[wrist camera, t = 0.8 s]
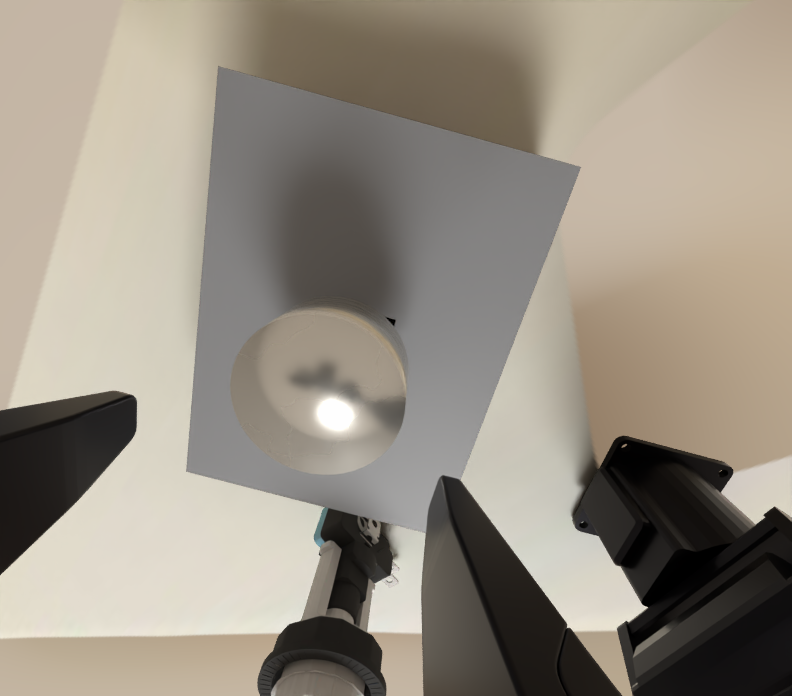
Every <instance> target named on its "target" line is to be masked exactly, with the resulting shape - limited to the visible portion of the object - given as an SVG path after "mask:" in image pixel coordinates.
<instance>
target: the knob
mask: <svg viewBox="0 0 792 696" xmlns="http://www.w3.org/2000/svg"><path fill="white" fill-rule="evenodd" d="M408 372H409V366H408V357H407V352H406V349H405V346H404V343H403V341H402V339H401V337H400V335H399V333H398V332H397V331H396V329H395V328H394V326H393V325H392V324H391V323H390V322H389V321H388V320H387V318H385V317H384V316H383V315H382V314H381V313H380V312H378V311H377V310H375V309H374V308H372V307H371V306H369V305H367V304H365V303H362V302H360V301H357V300H354V299H351V298H346V297H340V296H323V297H317V298H312V299H309V300H306V301H303V302H301V303H300V304H298V305H296V306H294V307H292V308H291V309H289V310H288V311H286V312H285V313H283V314H282V315H280V316H279V317H277V318H276V319H274V320H273V321H271V322H270V323H268V324H267V325H265V326H264V327H262V328H261V329H260V330H258V331H257V332H255V333H254V334H253V335H252V336H251V337H250V338H249V339H248V340H247V341H246V343H245V344H244V345H243V347H242V348H241V350H240V351H239V353H238V355H237V357H236V359H235V362H234V365H233V368H232V373H231V379H230V392H231V400H232V404H233V409H234V411H235V414H236V417H237V419H238V421H239V423H240V425H241V427H242V428H243V430H244V431H245V433H246V434H247V436H248V437H249V438H250V439H251V440H252V441H253V443H254V444H255V445H256V446H257V447H258V448H259V449H261V450H262V451H263V452H264V453H265V454H267V455H268V456H269V457H271V458H272V459H274V460H276V461H277V462H279V463H281V464H283V465H285V466H287V467H290V468H292V469H295V470H298V471H302V472H306V473H311V474H320V475H335V474H342V473H347V472H351V471H355V470H357V469H360V468H362V467H365V466H366V465H368V464H370V463H372V462H373V461H375V460H376V459H377V458H379V457H380V456H381V455H382V454H383V453H384V452H385V451H387V450H388V448H389V447H390V446H391V445H392V443H393V442H394V440H395V439H396V437H397V435H398V433H399V431H400V428H401V426H402V423H403V419H404V414H405V405H406V395H407V384H408Z"/></svg>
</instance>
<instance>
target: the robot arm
mask: <svg viewBox="0 0 792 696" xmlns="http://www.w3.org/2000/svg"><path fill="white" fill-rule="evenodd" d="M136 428H137V400H136V398H135V397H134V396H133V395H130V394H127V393H123V392H119V391H108V392H103V393H97V394H91V395H86V396H80V397H74V398H69V399H63V400H57V401H52V402H46V403H40V404H35V405H29V406H23V407H18V408H12V409H6V410H1V411H0V575H1V574H2V573H3V572H4V571H5V570H6V569H7V568H8V567H9V566H10V565H11V564H12V563H13V562H15V561H16V560H17V559H18V558H19V557H20V556H21V555H22V554H23V553H24V552H25V551H26V550H27V549H28V548H29V547H30V546H31V545H32V544H33V543H34V542H35V541H37V540H38V539H39V538H40V537H41V536H42V535H43V534H44V533H45V532H46V531H47V530H48V529H49V528H50V527H51V526H52V525H53V524H54V523H55V522H56V521H57V520H59V519H60V518H61V517H62V516H63V515H64V514H65V513H66V512H67V511H68V510H69V509H70V508H71V507H72V506H73V505H74V504H75V503H76V502H77V501H78V500H79V499H80V498H81V497H82V496H83V494H84V493H85V492H86V491H87V490H88V489H89V488H90V487H91V486H92V485H93V483H94V482H95V481H96V480H97V479H98V478H99V477H100V475H101V474H102V473H103V472H104V471H105V470H106V469H107V467H108V466H109V465H110V464H111V463H112V462H113V461H114V459H115V458H116V457H117V456H118V455H119V454H120V453H121V451H122V450H123V449H124V448H125V447H126V446H127V445H128V443H129V442H130V441H131V440H132V438H133V437H134V435H135V432H136ZM624 444H627V446H625V447H623V448H621V447H622V446H623V445H624ZM721 470H722V471H721ZM720 471H721V472H720ZM732 475H733V469H732V468H731V467H730V466H729V465H727V464H726V463H725V462H722V461H718V460H715V459H711V458H707V457H704V456H700V455H696V454H692V453H688V452H685V451H681V450H677V449H673V448H670V447H666V446H662V445H658V444H655V443H651V442H647V441H643V440H639V439H635V438H632V437H628V436H621V437H618V438H616V439H615V440H614V442H613V444H612V446H611V448H610V449H609V451H608V453H607V455H606V457H605V459H604V461H603V463H602V465H601V466H600V468H599V469H598V470H597V472H596V474H595V476H594V478H593V480H592V482H591V484H590V485H589V487H588V489H587V491H586V493H585V495H584V497H583V499H582V500H581V504H580V506H579V508H578V509H577V511H576V513H575V515H574V517H573V520H572V521H573V524H574V526H575V528H576V529H577V530H579V531H581V532H585V533H589V534H593V535H597V536H599V537H600V539H601V541H602V543H603V545H604V546H605V548H606V550H607V552H608V553H609V555H610V557H611V559H612V561H613V562H614V564H615V565H617V566H621V568H622V570H623V572H624V573H625V575H626V577H627V579H628V580H629V582H630V584H631V586H632V587H633V589H634V591H635V593H636V594H637V596H638V598H639V599H640V601H641V603H642V605H644V606H647V607H648V608H647V609H645V610H644V611H643V612H642V613H640V614H639V615H638V616H636V617H635V618H634V619H632V620H631V621H630V622H627V621H626V622H624V623H623V624H622V625H620V626H619V627H618V628H617V631H618V635H619V640H620V644H621V647H622V652H623V656H624V660H625V664H626V669H627V672H628V677H629V681H630V685H631V689H632V695H633V696H792V517H790V516H789V515H787V514H786V513H784V512H783V511H781V510H780V509H778V508H777V507H773V508H772V509H771V510H769V511H768V512H767V513H765V514H764V516H765V518H764V519H763V520H761V521H760V522H759V523H757V524H756V525H755V524H754V523H753V522H752V521H751V520H750V519H749V518H748V517H747V516H745V515H744V514H743V513H742V512H741V511H740V510H739V509H738V508H737V507H736V506H735V505H733V504H732V503H731V502H730V501H729V500H728V499H727V498H726V497H725V496H724V495H722V494H721V491H722V490H723V488H724V487H725V485H726V484H727V482H728V481H729V480H730V478H731V477H732ZM583 521H584V522H583ZM581 522H583V523H581ZM421 603H422V645H423V690H424V696H622V695H621V693H620V692H619V691H618V690H617V689H616V687H615V686H614V685H613V683H612V682H611V681H610V679H609V678H608V677H607V676H606V674H605V673H604V672H603V670H602V669H601V668H600V667H599V665H598V664H597V663H596V661H595V660H594V659H593V658H592V656H591V655H590V654H589V652H588V651H587V650H586V648H585V647H584V646H583V644H582V643H581V642H580V640H579V639H578V638H577V636H576V635H575V633H574V632H573V631H572V629H571V628H567V623H566V622H565V620H564V619H563V618H562V616H561V615H560V614H559V612H558V611H557V610H556V608H555V607H554V605H553V604H552V603H551V601H550V600H549V599H548V597H547V596H546V595H545V593H544V592H543V591H542V589H541V588H540V587H539V585H538V584H537V583H536V581H535V580H534V579H533V577H532V576H531V575H530V573H529V572H528V571H527V569H526V568H525V566H524V565H523V564H522V562H521V561H520V560H519V558H518V557H517V556H516V554H515V553H514V552H513V550H512V549H511V548H510V546H509V545H508V544H507V542H506V541H505V540H504V538H503V537H502V536H501V534H500V533H499V532H498V530H497V529H496V527H495V526H494V525H493V523H492V522H491V521H490V519H489V518H488V517H487V515H486V514H485V513H484V511H483V510H482V509H481V507H480V506H479V505H478V503H477V502H476V501H475V499H474V498H473V497H472V495H471V494H470V493H469V491H468V490H467V488H466V487H465V486H464V484H463V483H462V482H461V481H460V480H459V479H457V478H453V477H449V476H445V475H442V476H440V478H439V479H438V482H437V485H436V488H435V491H434V493H433V496H432V499H431V502H430V505H429V509H428V515H427V526H426V538H425V549H424V561H423V572H422V588H421ZM566 628H567V629H566Z"/></svg>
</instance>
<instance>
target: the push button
mask: <svg viewBox="0 0 792 696" xmlns="http://www.w3.org/2000/svg"><path fill="white" fill-rule="evenodd" d="M372 520H373V519H369V518H368V519H367V518H365V517H361V516H357V515H354V514H350V513H346V512H342V511H338V510H334V509H330V508H326V507H325V508H324V509H323V510H322V513H321V517H320V520H319V523H318V526H317V529H316V532H315V534H314V540H315V542H316V544H317V545H318V546H319V547H320V551H319V555H320V556H321V557H320V561H319V564H318V567H317V570H316V574H315V577H314V580H313V584H312V587H311V590H310V593H309V597H308V600H307V603H306V607H305V610H304V613H303V616H302V619H301V621H299V622H295V623H292V624H289V625H288V626H287V627H286V628H285V629H284V630H283V631H282V633H281V634H280V635H279V636H278V638H277V641H276V644H275V647H274V650H273V652H271V653H270V654H269V655H268V657H267V658H266V659H265V661H264V663H263V665H262V668H261V671H260V673H259V676H258V690H259V694H260V696H386V683H385V680H384V677H383V675H382V673H381V661H382V650H381V648H380V646H379V645H378V643H377V642H376V640H375V639H374V637H373V636H372V635H371V634H369V633H367V627H368V620H369V612H370V605H371V598H372V594H373V593H374V590H375V584H374V583H376V582H378V581H380V580H382V581H383V582H384V583H385V584H386V585H387V586H388V587H392V586H394V585H396V584H398V580H397V579H396V578H395V577H394V576H393V575H392V574H393V573H395V572H397V571H399V567H398V566H397V565H396V564H395V563H394V562H393V561H392V560H393V556H392V553H391V551H390V550H389V543H388V541H387V540H386V539H385V537H384V536H383V535H382V534H381V533H380V527H381V524H380V521H377V520H374V521H375V523H376V528H375V527H374V525H373V523H372ZM392 566H393V567H394V568H393V569H392ZM387 578H391V579H392V581H391V582H388V581H387V580H386V579H387Z"/></svg>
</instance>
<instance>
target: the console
mask: <svg viewBox="0 0 792 696" xmlns="http://www.w3.org/2000/svg"><path fill="white" fill-rule="evenodd" d="M580 168H581V167H579V166H575V165H572V164H568V163H564V162H561V161H557V160H554V159H550V158H546V157H543V156H539V155H536V154H532V153H528V152H525V151H521V150H518V149H514V148H510V147H507V146H503V145H500V144H496V143H493V142H489V141H485V140H482V139H478V138H475V137H471V136H467V135H464V134H460V133H457V132H453V131H449V130H446V129H442V128H439V127H435V126H431V125H428V124H424V123H421V122H417V121H413V120H410V119H406V118H403V117H399V116H395V115H392V114H388V113H385V112H381V111H377V110H374V109H370V108H367V107H363V106H359V105H356V104H352V103H349V102H345V101H342V100H338V99H334V98H331V97H327V96H324V95H320V94H316V93H313V92H309V91H306V90H302V89H298V88H295V87H291V86H288V85H284V84H280V83H277V82H273V81H270V80H266V79H262V78H259V77H255V76H252V75H248V74H244V73H241V72H237V71H234V70H230V69H226V68H223V67H219V66H218V75H217V88H216V101H215V113H214V126H213V139H212V152H211V164H210V177H209V190H208V202H207V215H206V228H205V240H204V253H203V266H202V278H201V291H200V304H199V317H198V329H197V342H196V355H195V367H194V380H193V393H192V405H191V418H190V431H189V443H188V456H187V469H186V472H190V473H194V474H198V475H202V476H206V477H210V478H214V479H218V480H221V481H225V482H229V483H233V484H237V485H241V486H245V487H249V488H253V489H256V490H260V491H264V492H268V493H272V494H276V495H280V496H284V497H288V498H291V499H295V500H299V501H303V502H307V503H311V504H315V505H319V506H323V507H326V508H330V509H334V510H338V511H342V512H346V513H350V514H354V515H357V516H361V517H365V518H369V519H373V520H377V521H381V522H385V523H389V524H392V525H396V526H400V527H404V528H408V529H412V530H416V531H420V532H424V533H426V526H427V515H428V509H429V505H430V502H431V499H432V496H433V493H434V491H435V488H436V485H437V482H438V479H439V478H440V476H442V475H445V476H449V477H453V478H457V479H459V480H461V477H462V475H463V472H464V470H465V467H466V464H467V462H468V459H469V457H470V454H471V451H472V449H473V446H474V444H475V441H476V438H477V436H478V433H479V431H480V428H481V425H482V423H483V420H484V418H485V415H486V412H487V410H488V407H489V405H490V402H491V399H492V397H493V394H494V392H495V389H496V386H497V384H498V381H499V379H500V376H501V374H502V371H503V368H504V366H505V363H506V361H507V358H508V355H509V353H510V350H511V348H512V345H513V342H514V340H515V337H516V335H517V332H518V329H519V327H520V324H521V322H522V319H523V316H524V314H525V311H526V309H527V306H528V303H529V301H530V298H531V296H532V293H533V290H534V288H535V285H536V283H537V280H538V277H539V275H540V272H541V270H542V267H543V264H544V262H545V259H546V257H547V254H548V252H549V249H550V246H551V244H552V241H553V239H554V236H555V233H556V231H557V228H558V226H559V223H560V220H561V218H562V215H563V213H564V210H565V207H566V205H567V202H568V200H569V197H570V194H571V192H572V189H573V187H574V184H575V181H576V179H577V176H578V173H579V171H580ZM323 296H340V297H346V298H351V299H354V300H357V301H360V302H362V303H365V304H367V305H369V306H371V307H372V308H374V309H375V310H377V311H378V312H380V313H381V314H382V315H383V316H384V317H388V318H391V319H395V320H396V322H395V325H394V328H395V329H396V331H397V332H398V333H399V335H400V337H401V339H402V341H403V343H404V346H405V349H406V352H407V357H408V366H409V372H408V384H407V395H406V405H405V414H404V419H403V423H402V426H401V428H400V431H399V433H398V435H397V437H396V439H395V440H394V442H393V443H392V445H391V446H390V447H389V448H388V450H387V451H385V452H384V453H383V454H382V455H381V456H380V457H379V458H377V459H376V460H375V461H373V462H372V463H370V464H368V465H366V466H365V467H362V468H360V469H357V470H355V471H351V472H347V473H342V474H335V475H320V474H311V473H306V472H302V471H298V470H295V469H292V468H290V467H287V466H285V465H283V464H281V463H279V462H277V461H276V460H274V459H272V458H271V457H269V456H268V455H267V454H265V453H264V452H263V451H262V450H261V449H259V448H258V447H257V446H256V445H255V444H254V443H253V441H252V440H251V439H250V438H249V437H248V436H247V434H246V433H245V431H244V430H243V428H242V427H241V425H240V423H239V421H238V419H237V417H236V414H235V411H234V409H233V404H232V400H231V392H230V379H231V373H232V368H233V365H234V362H235V359H236V357H237V355H238V353H239V351H240V350H241V348H242V347H243V345H244V344H245V343H246V341H247V340H248V339H249V338H250V337H251V336H252V335H253V334H254V333H255V332H257V331H258V330H260V329H261V328H262V327H264V326H265V325H267V324H268V323H270V322H271V321H273V320H274V319H276V318H277V317H279V316H280V315H282V314H283V313H285V312H286V311H288V310H289V309H291V308H292V307H294V306H296V305H298V304H300V303H301V302H303V301H306V300H309V299H312V298H317V297H323Z"/></svg>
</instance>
